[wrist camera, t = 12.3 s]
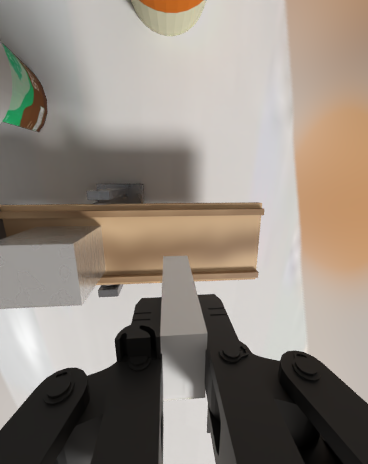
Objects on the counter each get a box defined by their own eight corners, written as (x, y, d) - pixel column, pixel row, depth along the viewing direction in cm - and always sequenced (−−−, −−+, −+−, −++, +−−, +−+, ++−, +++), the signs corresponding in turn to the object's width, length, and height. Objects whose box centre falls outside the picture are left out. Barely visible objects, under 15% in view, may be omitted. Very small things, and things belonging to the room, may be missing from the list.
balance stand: (7, 184, 27) (-81, 186, 18) (142, 184, 29) (130, 185, 19) (24, 267, 30) (-43, 307, 21) (146, 263, 32) (137, 299, 22)
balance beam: (-64, 203, 20) (-202, 216, 12) (255, 200, 22) (299, 210, 15) (-41, 283, 22) (-146, 335, 14) (249, 273, 24) (285, 314, 17)
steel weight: (36, 226, 19) (-20, 246, 14) (101, 225, 20) (73, 243, 14) (45, 272, 21) (-4, 308, 15) (105, 270, 21) (82, 305, 15)
